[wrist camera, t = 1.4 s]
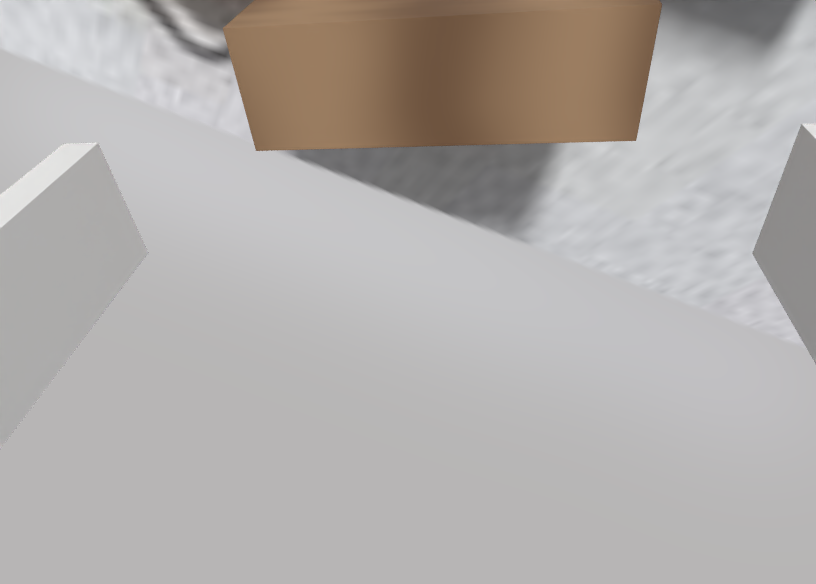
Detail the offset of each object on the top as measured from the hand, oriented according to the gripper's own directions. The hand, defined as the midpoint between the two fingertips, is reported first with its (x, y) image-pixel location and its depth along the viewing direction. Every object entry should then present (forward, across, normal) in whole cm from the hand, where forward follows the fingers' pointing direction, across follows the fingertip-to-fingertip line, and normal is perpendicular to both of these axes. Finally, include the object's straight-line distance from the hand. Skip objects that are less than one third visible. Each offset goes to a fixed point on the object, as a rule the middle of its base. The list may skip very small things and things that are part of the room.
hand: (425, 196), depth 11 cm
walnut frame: (+14, 0, 0) cm, 14 cm away
